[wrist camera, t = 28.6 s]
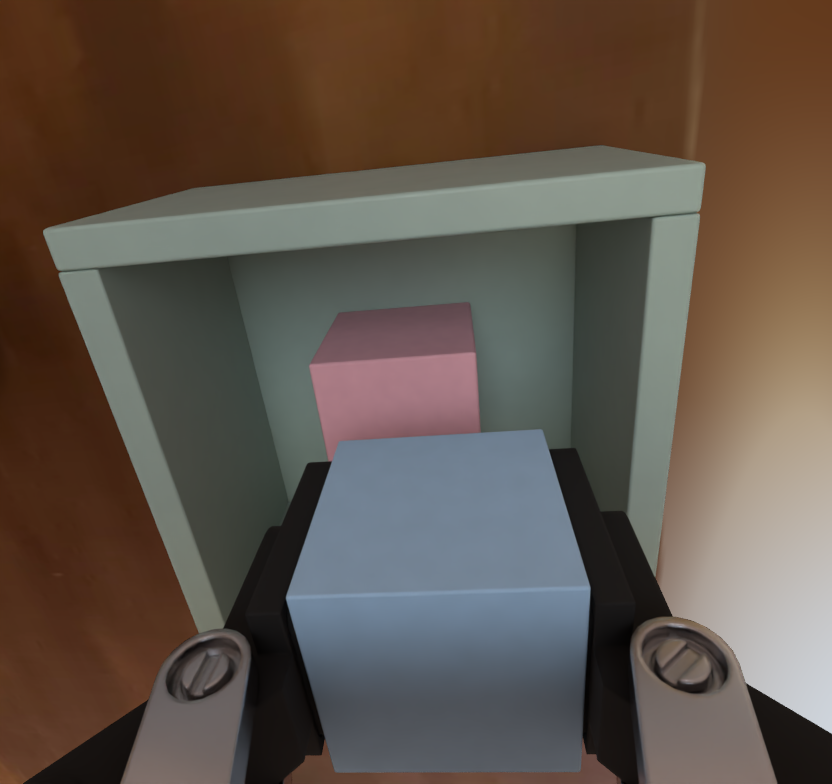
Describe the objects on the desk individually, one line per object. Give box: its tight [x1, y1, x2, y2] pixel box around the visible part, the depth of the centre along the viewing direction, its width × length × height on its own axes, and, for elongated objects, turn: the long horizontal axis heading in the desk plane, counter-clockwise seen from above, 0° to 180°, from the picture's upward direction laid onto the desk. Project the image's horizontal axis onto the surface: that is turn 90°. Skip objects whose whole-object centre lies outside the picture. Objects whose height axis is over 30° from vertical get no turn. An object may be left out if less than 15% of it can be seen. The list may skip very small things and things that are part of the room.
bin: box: [43, 145, 706, 633], centre depth 15 cm, size 12×12×7 cm
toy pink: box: [309, 302, 481, 461], centre depth 15 cm, size 4×4×4 cm
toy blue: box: [286, 429, 591, 772], centre depth 10 cm, size 4×4×4 cm
